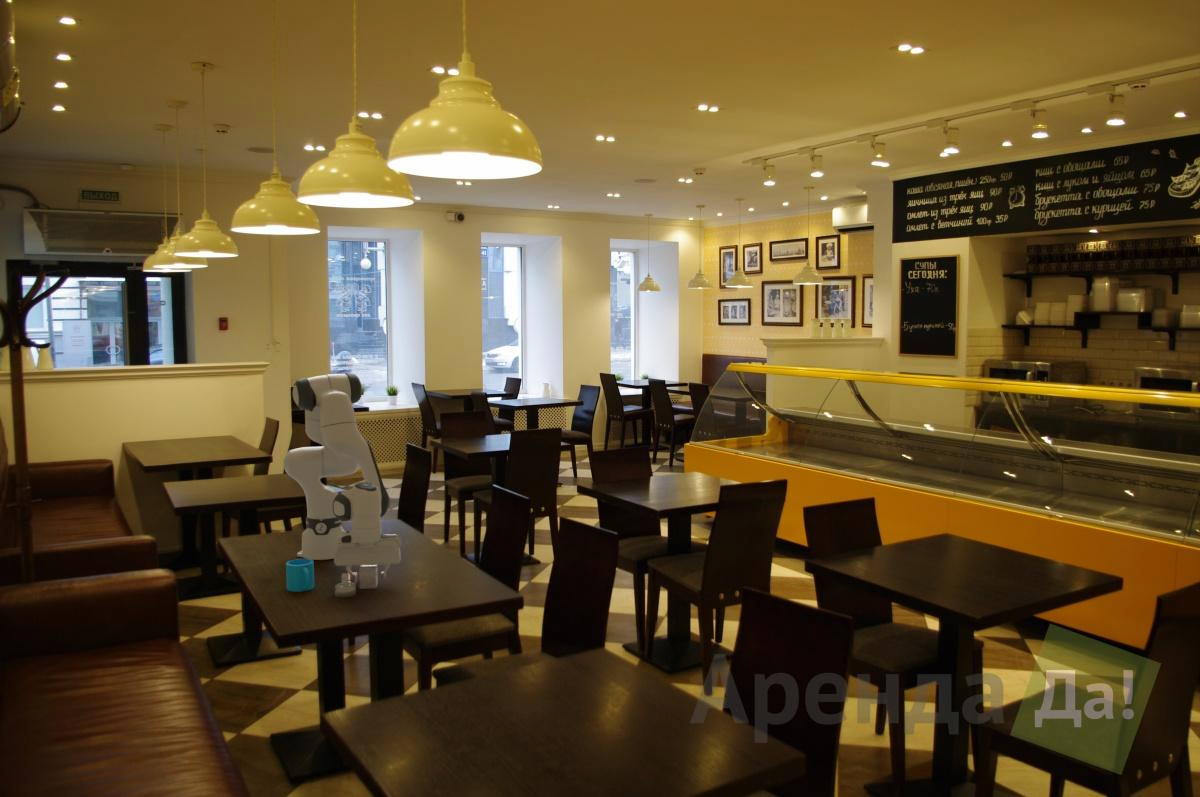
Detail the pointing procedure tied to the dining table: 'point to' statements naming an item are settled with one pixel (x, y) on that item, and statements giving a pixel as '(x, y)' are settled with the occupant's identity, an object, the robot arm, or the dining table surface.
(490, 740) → the dining table surface
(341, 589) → the ratchet
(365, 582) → the brushed steel block
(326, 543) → the robot arm
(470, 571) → the dining table surface
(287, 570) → the mug
